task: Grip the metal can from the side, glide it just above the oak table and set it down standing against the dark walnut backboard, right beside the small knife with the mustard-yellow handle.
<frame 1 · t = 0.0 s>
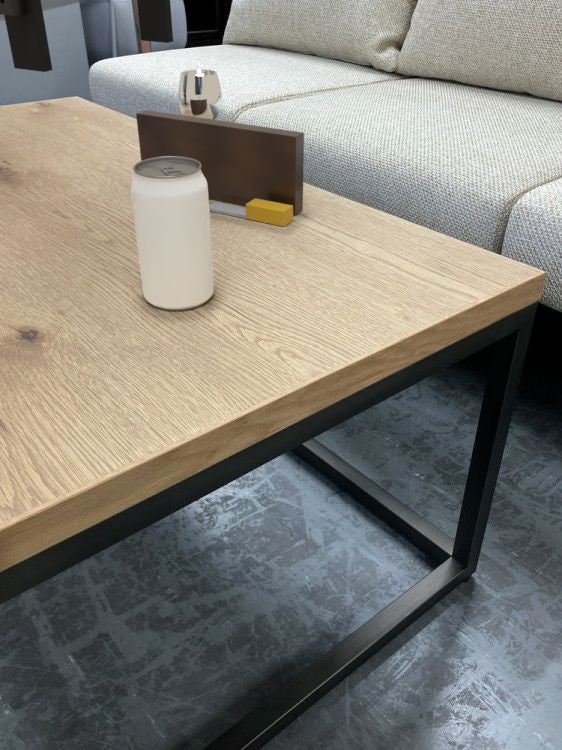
hand: (101, 54, 52), 21 cm above the table, tool pointing down, fingers open, 13 cm apart
can: (179, 297, 65), on the table
knife: (248, 215, 81), on the table
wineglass: (204, 166, 97), on the table
backboard: (220, 197, 86), on the table
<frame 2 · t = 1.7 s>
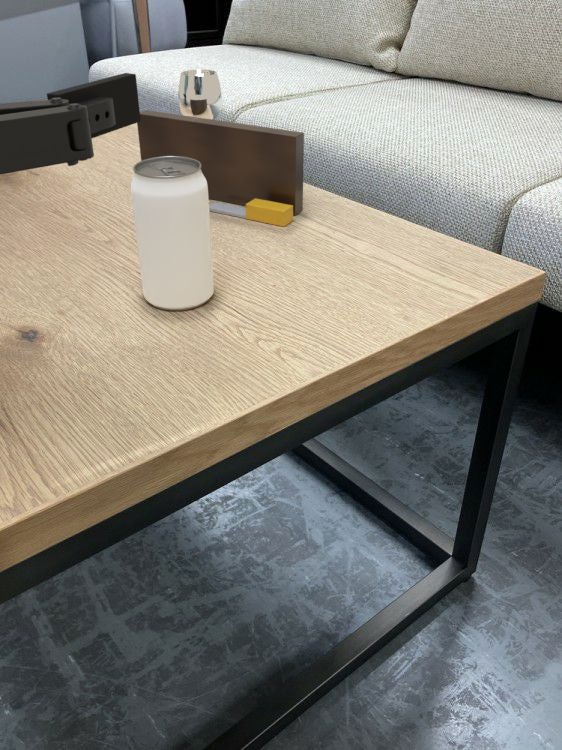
hand: (49, 86, 45), 20 cm above the table, tool horizontal, fingers open, 13 cm apart
nothing on the table moved.
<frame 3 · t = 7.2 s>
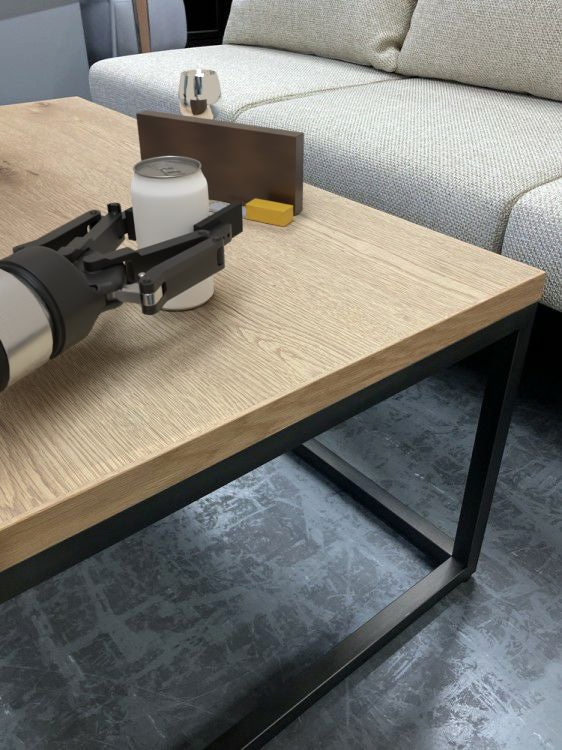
hand: (205, 209, 65), 7 cm above the table, tool horizontal, fingers closed on can, 6 cm apart
can: (179, 297, 65), on the table, touching gripper
everything else where it was.
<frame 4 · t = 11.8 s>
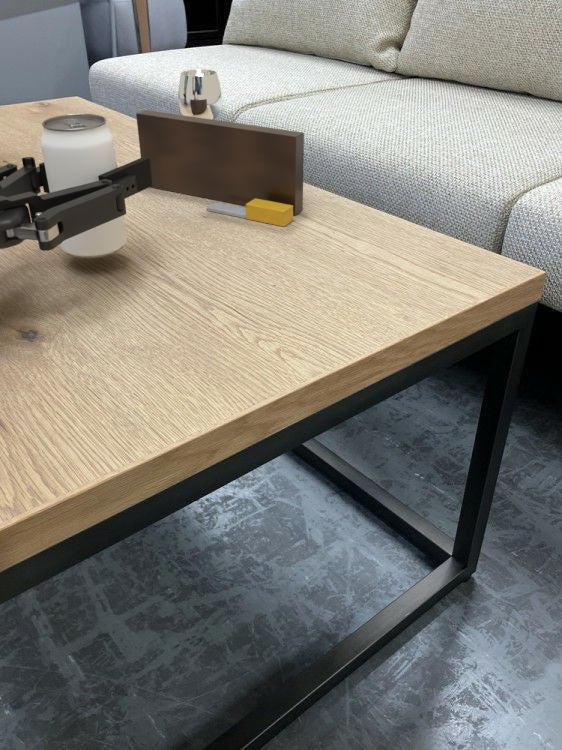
hand: (118, 166, 69), 8 cm above the table, tool horizontal, fingers closed on can, 6 cm apart
can: (94, 247, 70), point 2 cm above the table, touching gripper
everything else where it was.
when the fingers open (9 cm above the table, at t = 16.5 s): can stays where it is, on the table.
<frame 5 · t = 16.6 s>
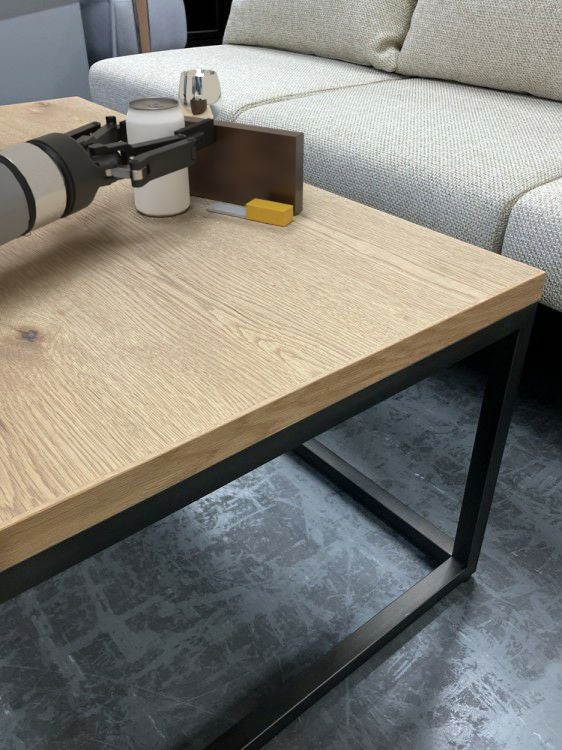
hand: (184, 126, 82), 8 cm above the table, tool horizontal, fingers open, 7 cm apart
can: (163, 209, 84), on the table, touching gripper
everything else where it was.
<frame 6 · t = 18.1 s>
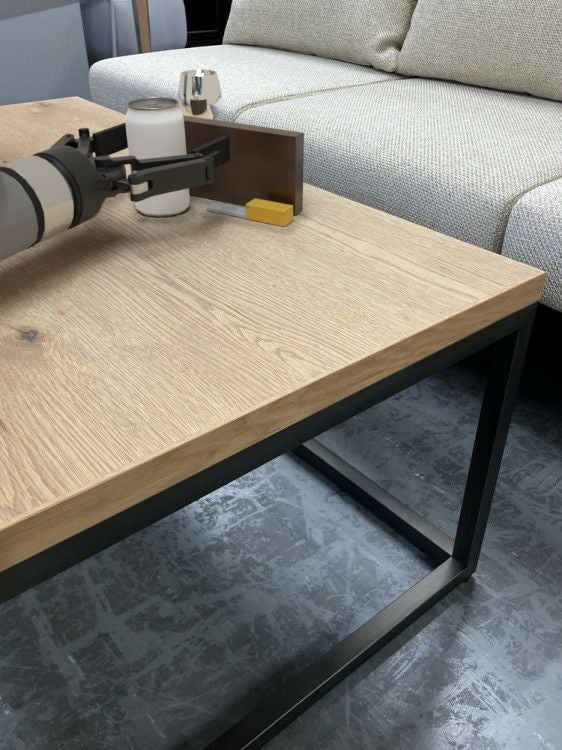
hand: (178, 140, 83), 7 cm above the table, tool horizontal, fingers open, 13 cm apart
can: (163, 209, 84), on the table
everything else where it was.
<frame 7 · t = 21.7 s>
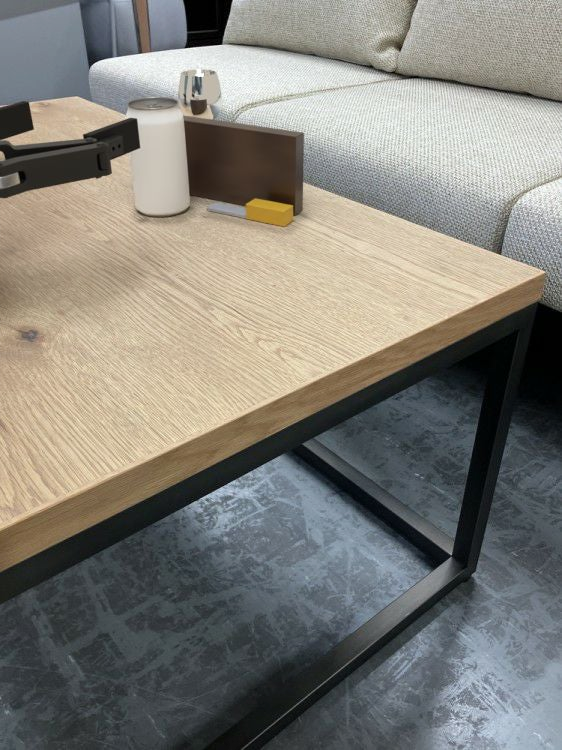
hand: (80, 123, 68), 12 cm above the table, tool horizontal, fingers open, 13 cm apart
nothing on the table moved.
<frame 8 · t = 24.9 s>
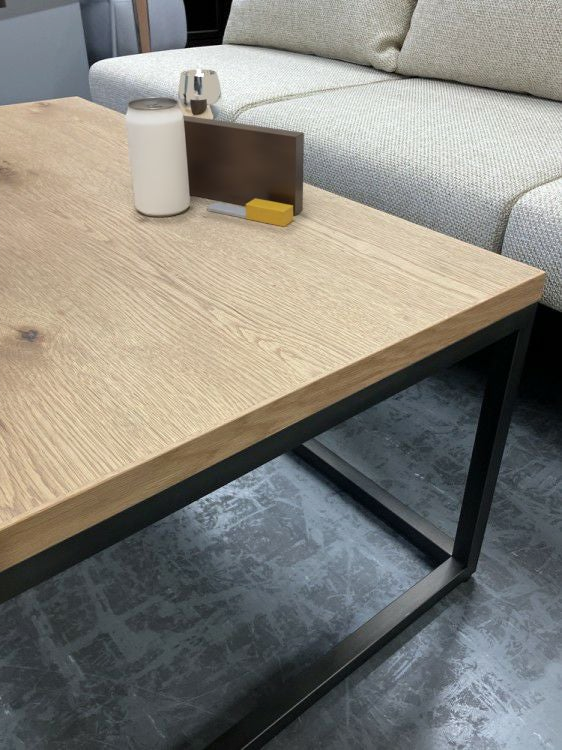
nothing on the table moved.
at the end: can 1.8 cm from the target spot on the table beside the backboard, on the table; can 10.6 cm from the knife (horizontally); can tilted 0° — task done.
